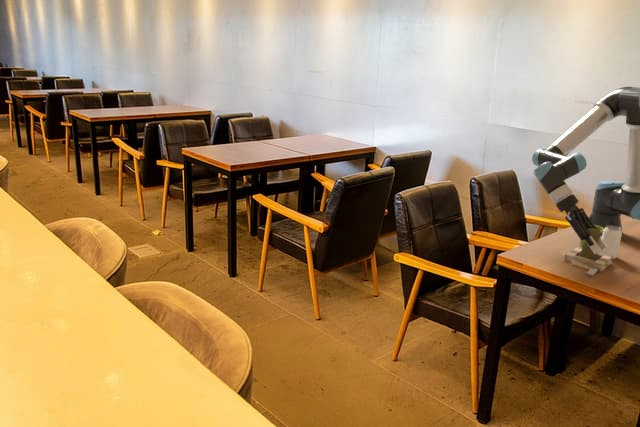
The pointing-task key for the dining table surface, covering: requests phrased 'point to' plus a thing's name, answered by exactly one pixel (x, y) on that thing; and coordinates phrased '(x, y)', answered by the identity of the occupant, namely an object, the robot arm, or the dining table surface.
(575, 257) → the birch socket block
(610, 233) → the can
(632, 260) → the dining table surface
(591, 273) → the steel rod
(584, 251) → the olive rounded piece
